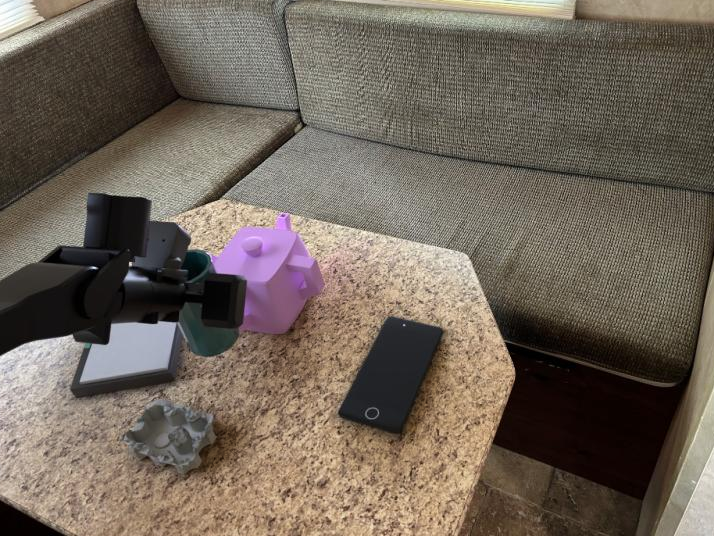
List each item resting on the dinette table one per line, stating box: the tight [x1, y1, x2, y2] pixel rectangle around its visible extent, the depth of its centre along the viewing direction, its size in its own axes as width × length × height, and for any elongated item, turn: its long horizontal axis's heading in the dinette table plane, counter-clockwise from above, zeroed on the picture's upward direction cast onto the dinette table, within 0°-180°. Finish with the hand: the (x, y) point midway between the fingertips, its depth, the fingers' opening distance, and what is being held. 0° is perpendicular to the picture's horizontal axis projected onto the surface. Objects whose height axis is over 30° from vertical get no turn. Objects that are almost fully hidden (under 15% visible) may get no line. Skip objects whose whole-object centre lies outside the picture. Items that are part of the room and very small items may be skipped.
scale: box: [69, 321, 184, 398], centre depth 93 cm, size 14×20×3 cm
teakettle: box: [202, 212, 326, 335], centre depth 94 cm, size 17×17×12 cm
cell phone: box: [337, 315, 444, 435], centre depth 84 cm, size 9×18×1 cm, turn 159°
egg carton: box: [116, 398, 217, 475], centre depth 77 cm, size 11×8×4 cm
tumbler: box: [177, 248, 240, 358], centre depth 79 cm, size 7×7×13 cm
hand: (204, 295), depth 80 cm, fingers closed on tumbler, 7 cm apart
